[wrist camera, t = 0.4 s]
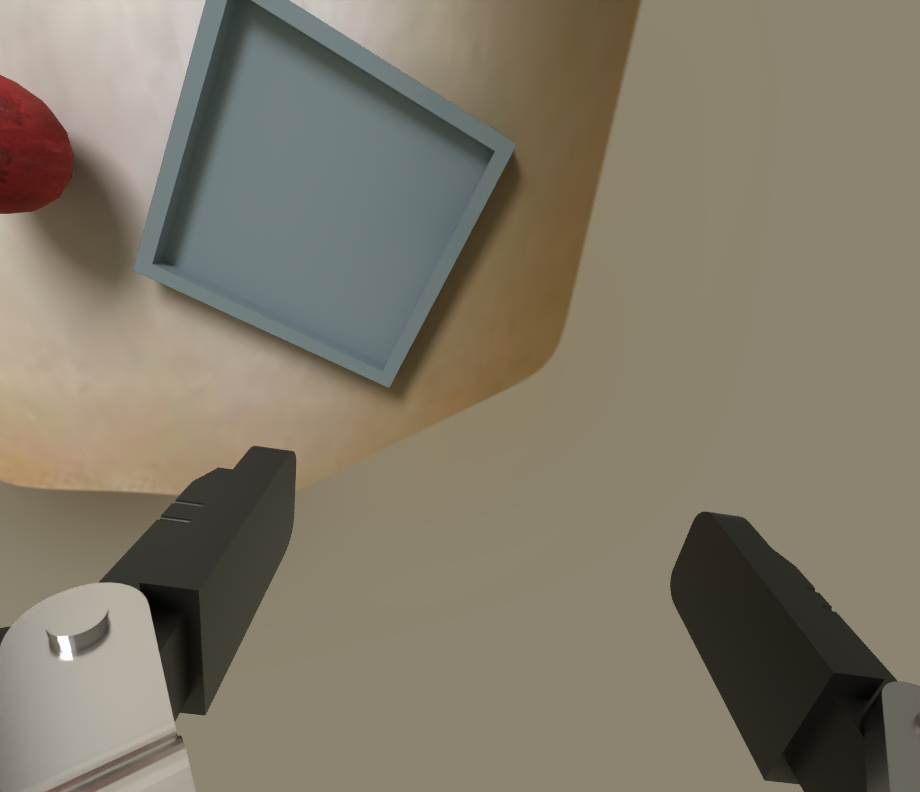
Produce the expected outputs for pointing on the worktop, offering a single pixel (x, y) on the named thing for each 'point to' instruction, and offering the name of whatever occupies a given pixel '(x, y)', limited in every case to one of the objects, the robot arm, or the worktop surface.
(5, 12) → the worktop surface
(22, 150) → the onion
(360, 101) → the dish
